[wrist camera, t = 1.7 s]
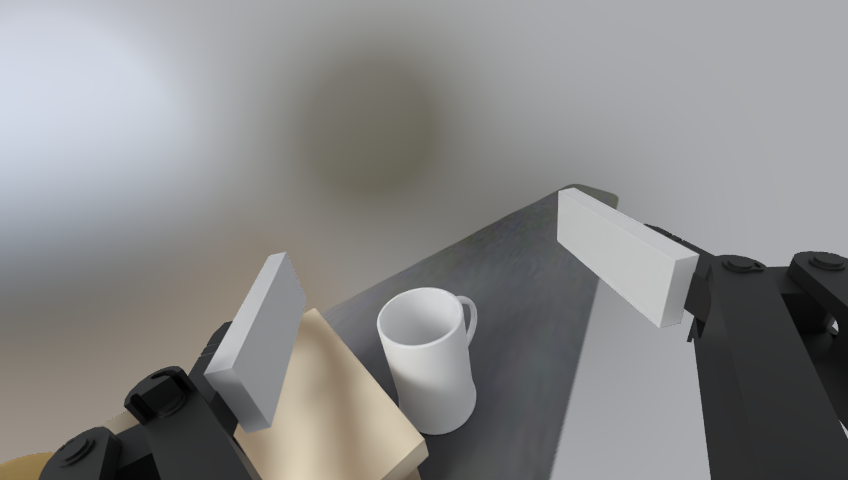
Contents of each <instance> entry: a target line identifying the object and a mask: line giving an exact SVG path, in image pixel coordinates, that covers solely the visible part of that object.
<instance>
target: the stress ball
mask: <svg viewBox="0 0 848 480" xmlns="http://www.w3.org/2000/svg"><path fill="white" fill-rule="evenodd" d="M55 453H56V452H46V453H37V454H32V455H27V456H23V457H20V458H16V459H13V460H10V461H8V462H5V463H3V464H0V480H38V479H39V476H40V474H41V471H42V470H43V468H44V466H45V465H46V463H47V461H48V460H49V459H50V458H51V457H52V456H53V455H54V454H55Z"/></svg>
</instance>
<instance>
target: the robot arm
mask: <svg viewBox="0 0 848 480" xmlns="http://www.w3.org/2000/svg"><path fill="white" fill-rule="evenodd" d="M557 241H558V242H559V243H561V244H562V245H563V246H564V247H565V248H566V249H567V250H569V251H570V252H571V253H572V254H573V255H574V256H576V257H577V258H578V259H579V260H580V261H581V262H583V263H584V264H585V265H586V266H587V267H588V268H590V269H591V270H592V271H593V272H594V273H595V274H597V275H598V276H599V277H600V278H601V279H602V280H604V281H605V282H606V283H607V284H608V285H609V286H611V287H612V288H613V289H614V290H615V291H616V292H618V293H619V294H620V295H621V296H622V297H623V298H625V299H626V300H627V301H628V302H629V303H631V304H632V305H633V306H634V307H635V308H636V309H637V310H638V311H640V312H641V313H642V314H643V315H644V316H646V317H647V318H648V319H649V320H650V321H651V322H652V323H654V324H655V325H656V326H657V327H658V328H663V327H667V326H671V325H675V324H679V323H681V319H682V315H683V312H684V309H685V310H687V311H688V312H690V313H691V314H692V315H694V319H693V323H692V326H691V329H690V332H689V336H688V339H687V342H691V341H692V338H694V346H695V354H696V362H697V370H698V378H699V386H700V394H701V402H702V411H703V419H704V426H705V434H706V443H707V451H708V459H709V467H710V475H711V480H848V438H847V436H846V434H845V432H844V430H843V428H842V425H841V423H842V424H843V425H844V426H845V428H846V429H847V430H848V259H847V258H844V257H841V256H839V255H837V254H833V253H830V254H829V253H828V252H813V251H808V252H800V253H797V254H795V255H794V257H793V259H792V261H791V264H790V266H789V267H766V266H765V265H764V264H762V263H760V262H758V261H756V260H753V259H750V258H747V257H742V256H737V255H720V256H714V255H712V254H710V253H708V252H706V251H704V250H702V249H700V248H698V247H696V246H694V245H692V244H690V243H688V242H686V241H684V240H683V241H682V239H681V238H679V237H677V236H675V235H672V234H671V233H669V232H667V231H665V230H663V229H661V228H659V227H655V226H651V225H648V224H641V223H639V222H637V221H635V220H634V219H631V218H630V217H628V216H626V215H624V214H622V213H620V212H619V211H617V210H615V209H613V208H611V207H609V206H607V205H605V204H604V203H602V202H600V201H598V200H596V199H594V198H592V197H590V196H589V195H587V194H585V193H583V192H581V191H579V190H577V189H575V188H570V189H565V190H561V191H559V199H558V231H557ZM306 299H307V298H306V296H305V294H304V292H303V289H302V287H301V285H300V282H299V280H298V278H297V276H296V273H295V271H294V269H293V266H292V264H291V262H290V260H289V257H288V255H287V253H286V252H283V253H279V254H274V255H270V256H269V257H268V259H267V261H266V263H265V264H264V266H263V268H262V270H261V272H260V273H259V276H258V277H257V279H256V281H255V283H254V284H253V286H252V288H251V290H250V292H249V293H248V295H247V297H246V299H245V300H244V302H243V304H242V306H241V308H240V309H239V311H238V313H237V315H236V317H235V319H234V320H233V321H231V322H226V323H224V324H223V325H222V326H221V327H220V328H219V329H218V330H217V331H216V332H215V333H214V334H213V336H212V337H211V339H210V340H209V342H208V344H207V347H206V348H205V349H204V350H203V352H202V353H201V357H199V358H198V360H197V362H196V363H195V365H194V367H193V368H192V370H191V372H190V373H189V375H188V376H187V374H186V373H185V372H184V370H183V369H182V368H180V367H178V366H171V367H167V368H163V369H160V370H158V371H156V372H154V373H153V374H151V375H149V376H147V377H146V378H145V379H143V380H142V381H140V382H139V383H138V384H137V385H136V386H135V387H134V388H133V389H132V390H131V391H130V392H129V394H128V396H127V397H126V399H125V403H124V407H125V408H126V409H127V410H128V411H129V412H130V413H131V414H132V415H133V416H134V417H135V418H136V419H137V420H138V421H139V422H140V423H139V424H137V425H135V426H133V427H130V428H128V429H126V430H124V431H122V432H120V433H118V434H116V435H115V434H114V433H113V432H112V431H110V430H109V429H108V428H106V427H104V426H101V427H95V428H92V429H90V430H87V431H85V432H83V433H81V434H79V435H78V436H76V437H75V438H72V439H71V440H70V441H68V442H67V443H66V444H65V445H63V446H62V447H61V448H59V449H58V450H57V452H56V453H55V454H54V455H53V456H52V457H51V458H50V459H49V460H48V461H47V463H46V465H45V466H44V468H43V470H42V471H41V474H40V476H39V479H38V480H262V478H261V477H260V475H259V474H258V472H257V470H256V469H255V467H254V466H253V464H252V463H251V461H250V459H249V458H248V456H247V455H246V453H245V452H244V450H243V448H242V447H241V445H240V444H239V442H238V441H237V439H236V438H235V437H234V433H235V430H236V428H237V425H238V423H239V424H240V425H241V427H242V428H243V429H244V431H245V432H246V434H247V433H251V432H255V431H259V430H263V429H267V428H271V426H272V422H273V419H274V415H275V412H276V408H277V404H278V401H279V397H280V394H281V390H282V386H283V383H284V379H285V375H286V372H287V368H288V365H289V361H290V357H291V354H292V350H293V347H294V343H295V339H296V336H297V332H298V329H299V325H300V321H301V318H302V314H303V311H304V306H305V303H306ZM835 320H836V322H837V324H838V331H837V330H836V329H835V328H833V327H832V325H833V324H834V322H835ZM839 420H840V421H841V423H840V421H839Z"/></svg>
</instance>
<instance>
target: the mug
mask: <svg viewBox="0 0 848 480" xmlns="http://www.w3.org/2000/svg"><path fill="white" fill-rule="evenodd" d="M461 304H468V305H469V307H470V310H471V321H470V326H469V329H468V331H467V334H466V329H465V321H464V314H463V308H462V305H461ZM476 325H477V310H476V306H475V304H474V303H473V302H472V300H470V299H469V298H467V297H465V296H456V297H455V296H454V295H453V294H451V293H450V292H448V291H445V290H442V289H438V288H417V289H412V290H409V291H406V292H403V293H401V294H399V295H397V296H396V297H394V298H393V299H391V300H390V301H389V302H388V303H387V304H386V305H385V306H384V307H383V308H382V310H381V311H380V313H379V316H378V320H377V328H378V332H379V335H380V338H381V342H382V345H383V348H384V351H385V355H386V358H387V361H388V364H389V368H390V371H391V374H392V377H393V381H394V384H395V387H396V390H397V394H398V397H399V408H400V410H401V412H402V413H403V414H404V415H405V416H406V418H407V419H408V420H409V421H410V422H411V424H412V425H413V426H414V427H415V428H416V430H417V431H419V432H422V433H425V434H430V435H439V434H445V433H449V432H451V431H453V430H455V429H457V428H459V427H460V426H461V425H463V424H464V423H465V422H466V421H467V420H468V418H469V417H470V415H471V414H472V412H473V410H474V407H475V403H476V389H475V385H474V383H473V380H472V375H471V367H470V360H469V352H468V346H469V344H470V342H471V340H472V338H473V335H474V333H475V329H476Z"/></svg>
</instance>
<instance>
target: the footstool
mask: <svg viewBox="0 0 848 480" xmlns="http://www.w3.org/2000/svg"><path fill="white" fill-rule="evenodd" d="M139 423H140V422H139V421H138V420H137V419H136V418H135V417H134V416H133V415H132V414H131V413H130V412H129V411H128V410H127V411H125V412H123V413H122V414H120V415H118V416H116V417H115V418H112V419H111V420H109V421H107V422H105V423H103V424H101V425H99V426H98V427H101V426H104V427H106V428H108V429H109V430H110V431H112V432H113V433H114V434H115V435H116V434H118V433H120V432H122V431H124V430H126V429H128V428H130V427H133V426H135V425H137V424H139ZM234 437H235V438H236V439H237V441H238V442H239V444H240V445H241V447H242V448H243V450H244V452H245V453H246V455H247V456H248V458H249V459H250V461H251V463H252V464H253V466H254V467H255V469H256V470H257V472H258V474H259V475H260V477H261V478H262V480H421V478H420V475H419V472H418V468H417V466H418V465H419V464H421V463H422V462H423V461H424V460H425V459H426V458H427V457H428V456H429V454H428V450H427V447H426V443H425V439H424V438H423V437H422V436H421V434H420V433H419V432H418V431H417V430H416V428H415V427H414V426H413V425H412V424H411V422H410V421H409V420H408V419H407V418H406V416H405V415H404V414H403V413H402V412H401V410H400V409H399V408H398V407H397V406H396V404H395V403H394V402H393V401H392V400H391V398H390V397H389V396H388V395H387V394H386V392H385V391H384V390H383V389H382V388H381V386H380V385H379V384H378V383H377V382H376V381H375V379H374V378H373V377H372V376H371V375H370V373H369V372H368V371H367V370H366V369H365V367H364V366H363V365H362V364H361V363H360V361H359V360H358V359H357V358H356V357H355V355H354V354H353V353H352V352H351V351H350V349H349V348H348V347H347V346H346V345H345V343H344V342H343V341H342V340H341V339H340V337H339V336H338V335H337V334H336V333H335V331H334V330H333V329H332V328H331V327H330V325H329V324H328V323H327V322H326V321H325V319H324V318H323V317H322V316H321V315H320V313H319V312H318V311H317V310H316V309H315V308H314V309H312V310H310V311H308V312H306V313H304V314H302V318H301V321H300V325H299V329H298V332H297V336H296V339H295V343H294V347H293V350H292V354H291V357H290V361H289V365H288V368H287V372H286V375H285V379H284V383H283V386H282V390H281V394H280V397H279V401H278V404H277V408H276V412H275V415H274V419H273V422H272V426H271V428H267V429H263V430H259V431H255V432H251V433H247V434H246V432H245V431H244V429H243V428H242V427H241V425H240V424H239V423H238V425H237V428H236V430H235V433H234Z"/></svg>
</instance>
